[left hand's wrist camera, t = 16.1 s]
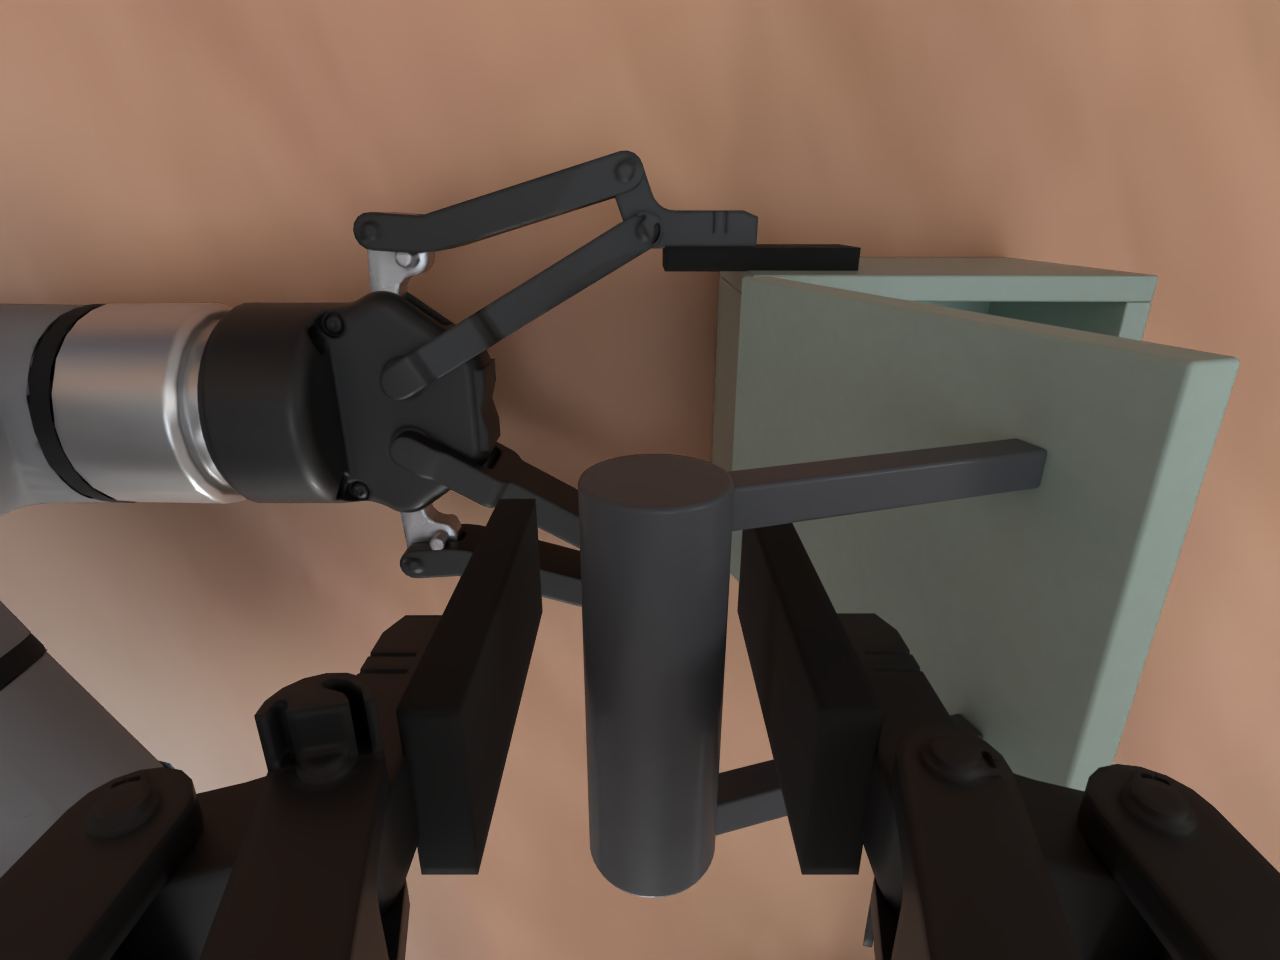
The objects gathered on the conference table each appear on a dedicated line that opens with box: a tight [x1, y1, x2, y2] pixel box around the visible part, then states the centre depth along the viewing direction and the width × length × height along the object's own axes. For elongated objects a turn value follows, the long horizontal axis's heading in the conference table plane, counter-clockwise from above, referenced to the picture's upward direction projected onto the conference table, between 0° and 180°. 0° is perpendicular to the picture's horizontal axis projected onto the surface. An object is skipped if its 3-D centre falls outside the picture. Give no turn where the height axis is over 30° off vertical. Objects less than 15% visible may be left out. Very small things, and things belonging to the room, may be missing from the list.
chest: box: [712, 257, 1158, 472], centre depth 28 cm, size 13×10×10 cm
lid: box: [578, 276, 1240, 898], centre depth 16 cm, size 14×10×9 cm
